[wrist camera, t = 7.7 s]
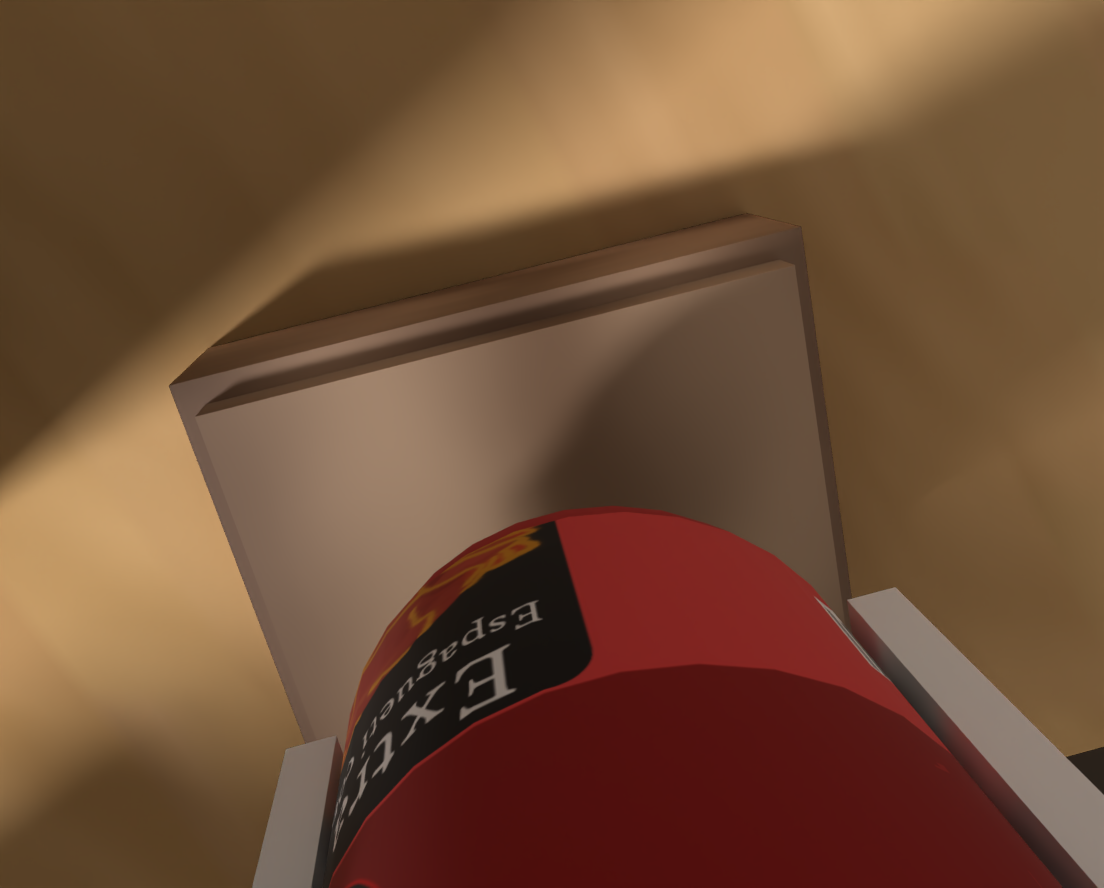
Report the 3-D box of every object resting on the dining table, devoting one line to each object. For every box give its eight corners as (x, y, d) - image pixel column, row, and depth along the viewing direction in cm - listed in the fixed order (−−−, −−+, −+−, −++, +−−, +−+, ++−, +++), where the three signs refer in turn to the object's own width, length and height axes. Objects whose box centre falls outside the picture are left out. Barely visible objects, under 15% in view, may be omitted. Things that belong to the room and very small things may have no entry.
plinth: (369, 793, 24) (358, 916, 20) (208, 348, 20) (156, 397, 16) (818, 672, 24) (888, 769, 21) (747, 213, 21) (817, 230, 17)
